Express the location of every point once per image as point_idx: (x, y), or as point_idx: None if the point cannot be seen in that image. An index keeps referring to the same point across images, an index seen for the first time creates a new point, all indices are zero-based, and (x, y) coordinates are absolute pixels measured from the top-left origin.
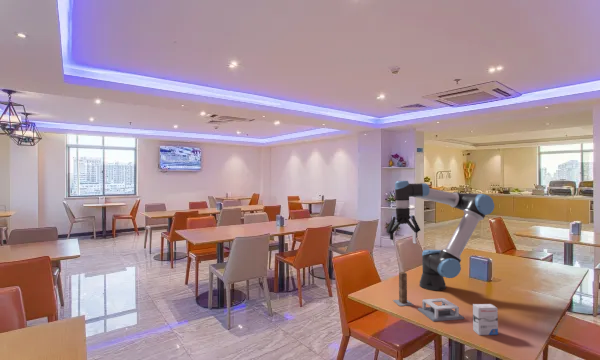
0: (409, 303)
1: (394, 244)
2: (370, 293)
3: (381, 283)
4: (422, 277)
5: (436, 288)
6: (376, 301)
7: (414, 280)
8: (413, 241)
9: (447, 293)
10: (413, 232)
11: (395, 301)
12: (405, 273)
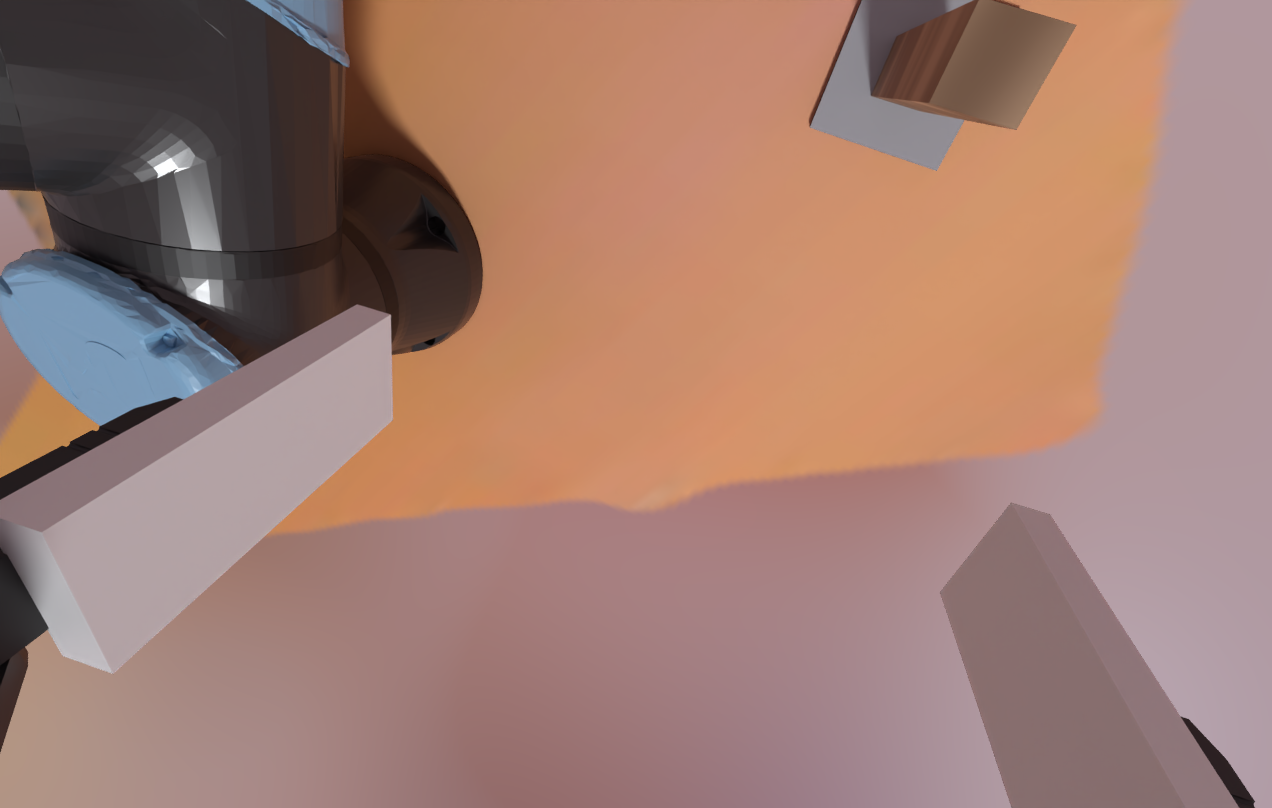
0: (885, 14)
1: (1041, 534)
2: (937, 392)
3: (684, 485)
4: (428, 314)
5: (414, 173)
6: (1077, 232)
7: (436, 408)
8: (364, 412)
9: (382, 74)
10: (98, 608)
11: (952, 127)
12: (1002, 6)
